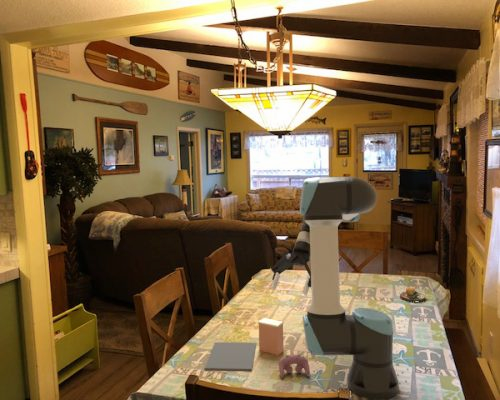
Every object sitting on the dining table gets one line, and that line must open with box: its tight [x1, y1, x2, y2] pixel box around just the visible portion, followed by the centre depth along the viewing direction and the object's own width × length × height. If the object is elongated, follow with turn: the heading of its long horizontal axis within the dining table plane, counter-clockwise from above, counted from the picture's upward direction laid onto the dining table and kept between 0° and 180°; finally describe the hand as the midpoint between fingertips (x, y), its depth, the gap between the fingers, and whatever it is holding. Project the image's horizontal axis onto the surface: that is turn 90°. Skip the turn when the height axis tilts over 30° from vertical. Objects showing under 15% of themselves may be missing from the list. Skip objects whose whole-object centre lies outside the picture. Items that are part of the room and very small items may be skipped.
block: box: [258, 317, 285, 356], centre depth 154 cm, size 4×8×11 cm, turn 58°
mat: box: [204, 341, 257, 372], centre depth 151 cm, size 20×16×1 cm
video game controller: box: [278, 353, 310, 379], centre depth 137 cm, size 10×5×7 cm, turn 92°
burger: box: [399, 285, 427, 303], centre depth 206 cm, size 12×12×8 cm
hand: (288, 291), depth 161 cm, fingers open, 13 cm apart
